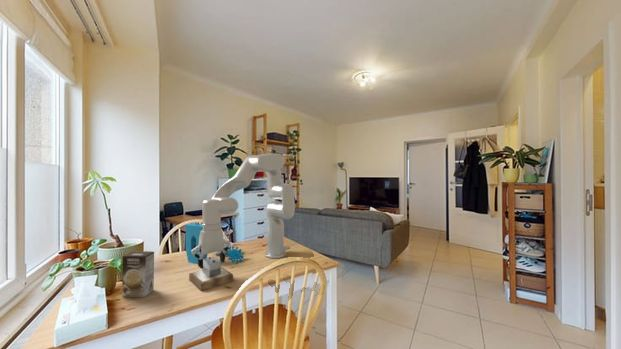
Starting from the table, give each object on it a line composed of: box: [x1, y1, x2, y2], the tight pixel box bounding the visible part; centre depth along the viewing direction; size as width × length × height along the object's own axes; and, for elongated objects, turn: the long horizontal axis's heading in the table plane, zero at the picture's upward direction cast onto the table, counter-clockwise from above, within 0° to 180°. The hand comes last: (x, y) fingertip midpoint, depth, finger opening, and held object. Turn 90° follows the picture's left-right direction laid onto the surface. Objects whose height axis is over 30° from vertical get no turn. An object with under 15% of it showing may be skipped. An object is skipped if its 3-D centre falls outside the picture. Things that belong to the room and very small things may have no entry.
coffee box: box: [121, 250, 155, 298], centre depth 102 cm, size 9×6×16 cm
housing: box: [201, 256, 222, 278], centre depth 114 cm, size 5×8×6 cm, turn 44°
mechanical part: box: [213, 233, 234, 255], centre depth 151 cm, size 11×12×12 cm
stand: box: [188, 266, 234, 292], centre depth 114 cm, size 14×14×3 cm
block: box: [185, 222, 208, 265], centre depth 137 cm, size 12×5×20 cm, turn 69°
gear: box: [225, 245, 246, 264], centre depth 140 cm, size 11×6×10 cm
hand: (211, 264), depth 114 cm, fingers open, 9 cm apart
